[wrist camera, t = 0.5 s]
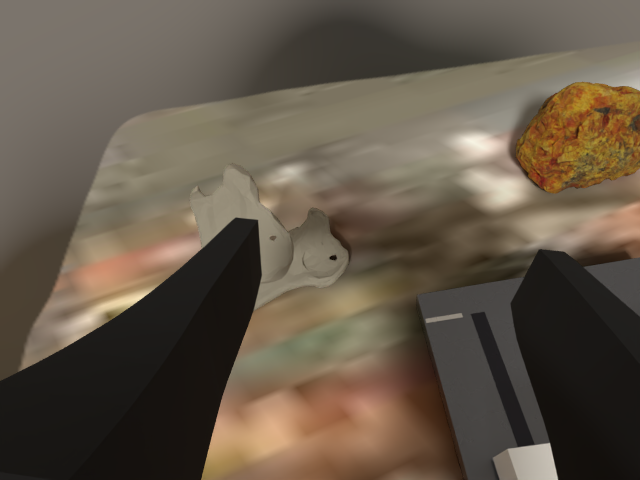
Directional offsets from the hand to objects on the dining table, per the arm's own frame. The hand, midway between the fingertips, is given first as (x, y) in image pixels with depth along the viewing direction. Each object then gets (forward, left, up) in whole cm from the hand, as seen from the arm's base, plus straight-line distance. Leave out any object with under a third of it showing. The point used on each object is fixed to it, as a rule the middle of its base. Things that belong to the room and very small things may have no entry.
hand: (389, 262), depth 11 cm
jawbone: (+9, +8, -18) cm, 22 cm away
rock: (+17, -20, -18) cm, 32 cm away
